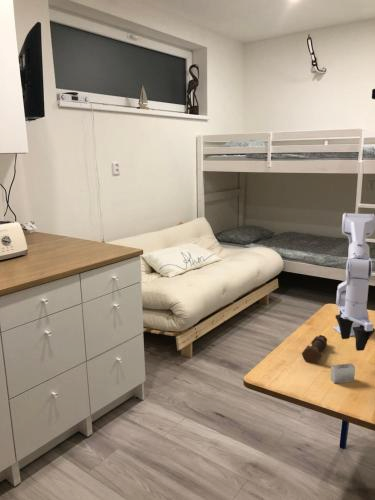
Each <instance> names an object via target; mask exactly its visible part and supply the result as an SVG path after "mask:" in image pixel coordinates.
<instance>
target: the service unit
mask: <svg viewBox="0 0 375 500" xmlns="http://www.w3.org/2000/svg"><path fill="white" fill-rule="evenodd" d="M355 372H356V366H355V365H354V364H353V363H342V364H332V365H331V369H330V381H331V382H332V383H333V384H341V383H342V384H344V383H352V382H353V383H354V382H355V375H356V373H355Z"/></svg>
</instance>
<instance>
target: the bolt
mask: <svg viewBox="0 0 375 500" xmlns="http://www.w3.org/2000/svg"><path fill="white" fill-rule="evenodd" d="M327 346H328V338H327V337H326V336H324V335H322V334H319V335H316V336H315V337H314V339H312V341H311V346H310V345H307V346H306V347H305V349H303V351H302V352H301V357H302V358H303V360H304V361H305V362H306V363H308V364H313V365H316V364H317V363H318V362H319V361H320V359H321V358H322V354H321V352H324V350H325V349H326V348H327Z"/></svg>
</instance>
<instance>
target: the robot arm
mask: <svg viewBox="0 0 375 500" xmlns="http://www.w3.org/2000/svg"><path fill="white" fill-rule="evenodd" d="M341 223H342V224H341V233H342V235H343V236H347V238H348V249H347V250H348V254H347V255H348V256H347V260H346V265H345V266H346V268H345V277H346V280H345V281H342V282H341V283H339V284H338V285H337V290H336V299H335V300H336V301H335V305H336V306H337V309H338V310H337V312H338V314H336V315H335V319H336V321H337V324H338V325H334V326H332V327H333V329H334V330H335V331H337V332H338V333H339V334H340V337H341V339H342V340H348V339H350V338H351V337H353V336H354V338H355V350H356V351H357V352H360V351H364V350H365V348H366V347H367V344H368V342H369V339H370V338H371V336H372V335H373V334H374V333H375V328H374V323H373V322H372V321H370V319H369V318H370V317H369V312H368V310H367V309H368V308H367V306H368V305H367V304H368V297H369V296H368V294H369V284H370V283H369V282H370V281H371V280H372V279H371V278H372V274H373V260H372V258H371V256H370V255H371V254H370V246H369V244H368V243H367V242H366V239H367V238H368V237H371V236H372V235H373V234H374V232H375V214H374V213H346V212H344V213H343V214H342V222H341Z"/></svg>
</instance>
